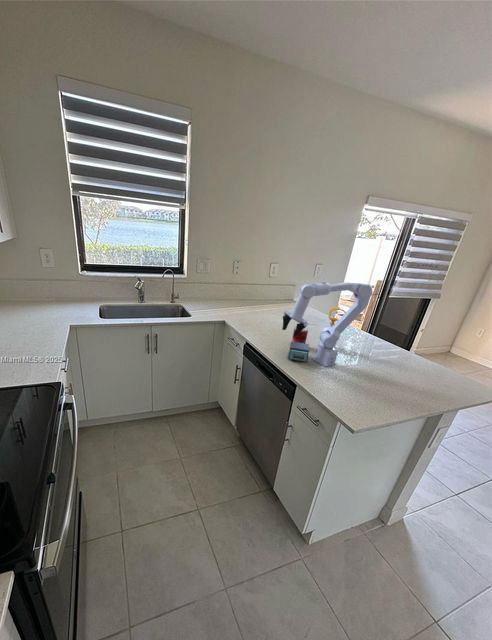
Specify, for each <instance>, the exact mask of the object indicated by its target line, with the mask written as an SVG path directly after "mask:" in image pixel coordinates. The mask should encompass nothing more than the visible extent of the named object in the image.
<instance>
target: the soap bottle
mask: <svg viewBox="0 0 492 640" xmlns="http://www.w3.org/2000/svg"><path fill="white" fill-rule="evenodd" d="M340 309H341V308H340V307H339V306H334V307H331V308H330V309H329V312H328V318H329V320H330V321H331V322H329V324H328V326H326V327H324V328H323V329H322V332H324V331H326V330H327V329H328V328H331V327H333V326H334V325H335V324H336V322H337V321H338V320H339V318H337V317H332V316H331V315H332V312H333V311H336V310H340ZM322 332H321V333H322ZM320 342H321V340H320V339H319V343H320ZM334 349H335V350H336V345H335V346H334Z"/></svg>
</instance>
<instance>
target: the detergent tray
mask: <svg viewBox="0 0 492 640" xmlns="http://www.w3.org/2000/svg"><path fill="white" fill-rule="evenodd" d="M307 354H308V355H309V353H308V352H306V351H301V350H295V349H292V350H291V353H290V359H289V360H293V359H295V360H294V361H299V360H300V361H299V362H304V361H306V358H307ZM307 359H308V358H307Z"/></svg>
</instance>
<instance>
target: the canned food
mask: <svg viewBox="0 0 492 640" xmlns="http://www.w3.org/2000/svg"><path fill="white" fill-rule="evenodd" d="M295 330H296V326H294V328H293V333H292V338H291V341H292V342H299V343H305V344H307V343H306V342H307V337H308V332H309V328H307V327H305V328H304V329H303V330H302V331H301V332H300V333H299V334H298V335H297V337H294V336H293V335H294V333H295Z"/></svg>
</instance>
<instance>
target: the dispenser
mask: <svg viewBox="0 0 492 640" xmlns="http://www.w3.org/2000/svg"><path fill="white" fill-rule="evenodd" d="M292 349H295V350H301V351H306V352H308V354H307V358H306V361H303V362H308V357H309V353H310V344H309V343H299V342H292V340H291V342H290V346H289V351H288V357H287V358H288V359H289V360H291V359H290V353H291V350H292ZM292 361H296V360H295V359H292ZM298 361H299V362H301V361H300V360H298Z"/></svg>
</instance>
